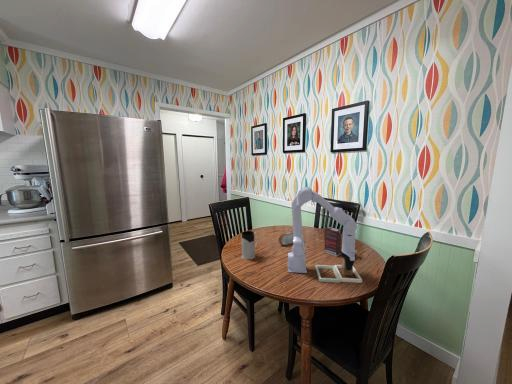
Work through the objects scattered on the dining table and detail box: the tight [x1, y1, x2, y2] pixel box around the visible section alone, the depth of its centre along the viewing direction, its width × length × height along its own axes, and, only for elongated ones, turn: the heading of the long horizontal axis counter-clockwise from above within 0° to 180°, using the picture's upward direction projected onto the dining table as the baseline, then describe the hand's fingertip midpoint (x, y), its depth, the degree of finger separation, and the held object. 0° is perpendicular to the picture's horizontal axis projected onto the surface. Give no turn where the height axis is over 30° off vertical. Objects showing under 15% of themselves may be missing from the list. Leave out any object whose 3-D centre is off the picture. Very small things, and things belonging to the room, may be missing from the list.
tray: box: [333, 264, 363, 284], centre depth 105 cm, size 10×14×2 cm
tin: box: [278, 230, 294, 246], centre depth 146 cm, size 15×3×8 cm, turn 120°
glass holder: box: [241, 230, 260, 260], centre depth 129 cm, size 9×14×15 cm, turn 137°
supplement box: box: [324, 226, 342, 257], centre depth 129 cm, size 9×5×16 cm, turn 40°
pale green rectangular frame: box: [314, 264, 341, 284], centre depth 105 cm, size 10×14×2 cm
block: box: [341, 258, 354, 276], centre depth 105 cm, size 4×4×7 cm
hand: (347, 267), depth 105 cm, fingers closed on block, 4 cm apart
